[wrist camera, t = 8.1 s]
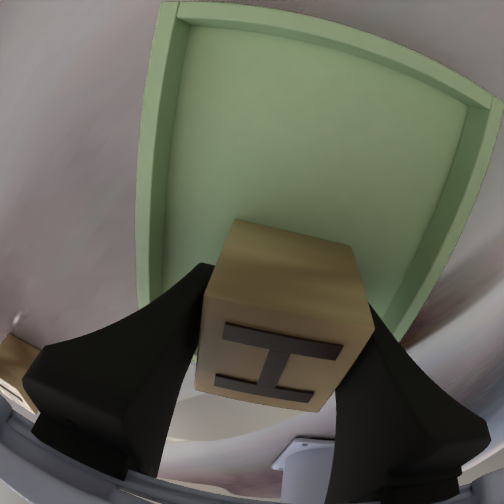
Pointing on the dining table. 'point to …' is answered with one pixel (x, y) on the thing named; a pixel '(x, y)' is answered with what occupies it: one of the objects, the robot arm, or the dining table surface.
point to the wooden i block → (16, 370)
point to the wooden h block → (281, 318)
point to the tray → (305, 147)
